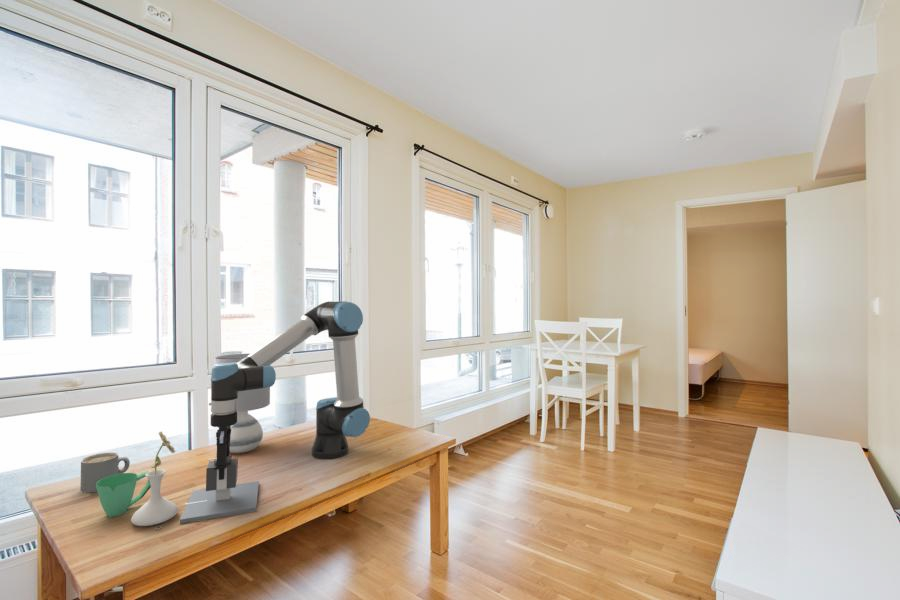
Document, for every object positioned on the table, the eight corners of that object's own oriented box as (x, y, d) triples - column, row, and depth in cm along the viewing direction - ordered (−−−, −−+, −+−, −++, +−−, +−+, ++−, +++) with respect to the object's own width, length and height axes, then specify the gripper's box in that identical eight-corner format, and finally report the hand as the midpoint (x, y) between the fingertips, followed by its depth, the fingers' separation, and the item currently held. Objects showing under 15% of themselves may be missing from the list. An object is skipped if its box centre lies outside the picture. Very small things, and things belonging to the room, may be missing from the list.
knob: (237, 479, 138) (238, 453, 138) (235, 487, 132) (236, 459, 132) (208, 483, 134) (209, 456, 135) (205, 491, 129) (206, 462, 129)
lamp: (233, 463, 166) (234, 361, 166) (202, 452, 176) (203, 357, 176) (279, 447, 184) (280, 355, 184) (249, 438, 195) (250, 352, 195)
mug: (104, 524, 120) (105, 489, 120) (89, 515, 125) (90, 481, 125) (160, 503, 132) (161, 471, 133) (144, 495, 137) (145, 465, 137)
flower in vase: (170, 527, 118) (171, 439, 119) (123, 533, 115) (124, 442, 115) (185, 505, 131) (186, 425, 131) (143, 510, 128) (144, 428, 128)
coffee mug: (82, 495, 137) (82, 465, 137) (78, 486, 144) (79, 457, 144) (132, 483, 147) (133, 454, 147) (127, 475, 153) (127, 447, 153)
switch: (258, 484, 146) (258, 468, 146) (256, 511, 128) (256, 492, 128) (190, 494, 139) (191, 477, 139) (177, 524, 120) (177, 504, 120)
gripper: (214, 406, 141) (213, 474, 141) (206, 421, 123) (204, 499, 123) (239, 404, 144) (238, 471, 144) (234, 418, 126) (233, 495, 126)
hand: (222, 484), depth 133 cm, fingers closed on knob, 6 cm apart
